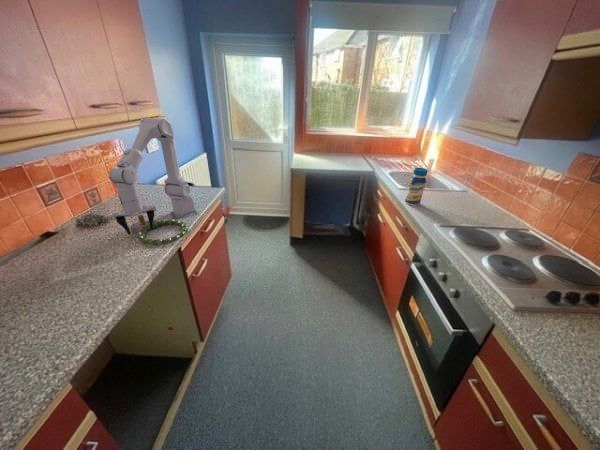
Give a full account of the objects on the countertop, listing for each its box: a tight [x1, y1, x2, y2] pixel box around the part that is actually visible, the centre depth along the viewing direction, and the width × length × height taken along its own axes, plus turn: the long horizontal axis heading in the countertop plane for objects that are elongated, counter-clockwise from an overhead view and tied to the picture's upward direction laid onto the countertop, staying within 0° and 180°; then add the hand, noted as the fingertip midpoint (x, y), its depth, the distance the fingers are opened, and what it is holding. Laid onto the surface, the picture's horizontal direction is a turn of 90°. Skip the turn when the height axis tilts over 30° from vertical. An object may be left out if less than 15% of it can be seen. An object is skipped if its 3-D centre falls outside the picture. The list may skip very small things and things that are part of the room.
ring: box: [137, 219, 189, 246], centre depth 103 cm, size 18×18×2 cm
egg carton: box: [72, 212, 106, 227], centre depth 109 cm, size 11×8×4 cm
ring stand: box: [137, 214, 147, 227], centre depth 108 cm, size 8×8×6 cm
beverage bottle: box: [404, 167, 429, 207], centre depth 139 cm, size 8×8×20 cm
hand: (140, 230), depth 98 cm, fingers open, 7 cm apart
